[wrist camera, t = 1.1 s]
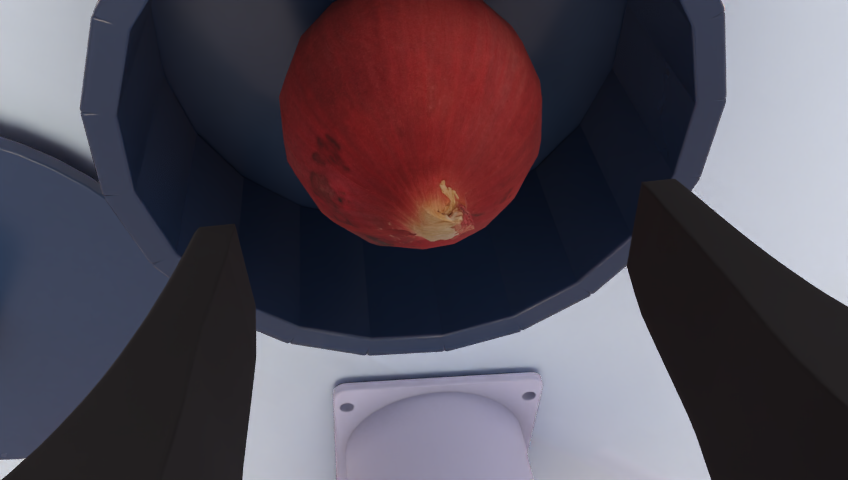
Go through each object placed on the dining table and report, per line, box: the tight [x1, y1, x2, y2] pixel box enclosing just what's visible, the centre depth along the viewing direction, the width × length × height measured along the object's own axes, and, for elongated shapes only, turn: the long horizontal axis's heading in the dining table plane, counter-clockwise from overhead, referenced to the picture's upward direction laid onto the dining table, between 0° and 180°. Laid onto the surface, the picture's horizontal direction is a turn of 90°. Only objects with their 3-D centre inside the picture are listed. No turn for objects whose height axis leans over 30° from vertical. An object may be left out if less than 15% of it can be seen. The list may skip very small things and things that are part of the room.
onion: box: [279, 0, 542, 249], centre depth 18 cm, size 6×6×8 cm
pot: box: [80, 0, 726, 356], centre depth 19 cm, size 13×13×5 cm
